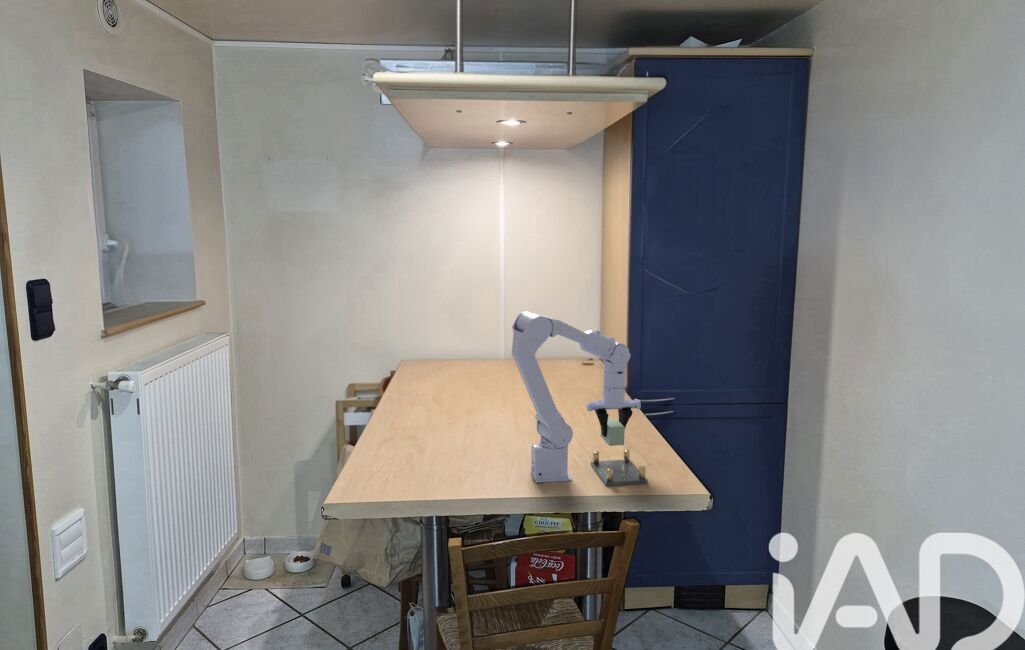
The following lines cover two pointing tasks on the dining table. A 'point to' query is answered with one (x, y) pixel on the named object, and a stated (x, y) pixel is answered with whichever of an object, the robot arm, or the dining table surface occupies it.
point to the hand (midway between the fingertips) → (612, 435)
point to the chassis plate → (618, 471)
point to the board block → (614, 432)
